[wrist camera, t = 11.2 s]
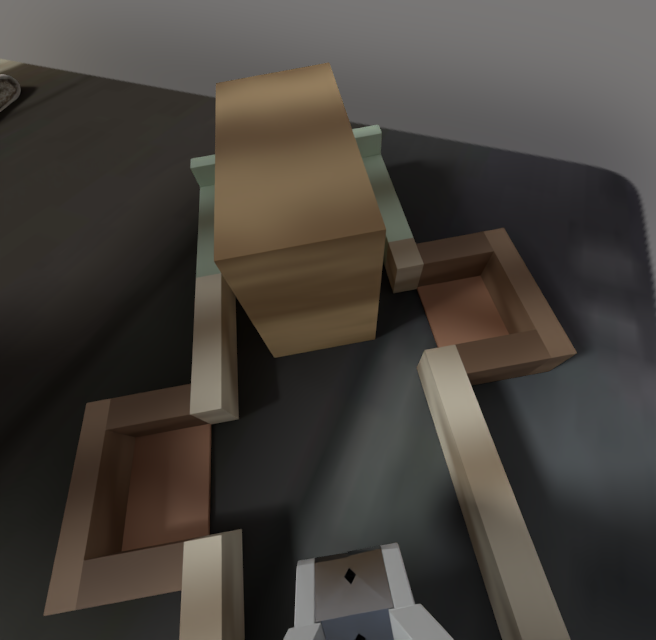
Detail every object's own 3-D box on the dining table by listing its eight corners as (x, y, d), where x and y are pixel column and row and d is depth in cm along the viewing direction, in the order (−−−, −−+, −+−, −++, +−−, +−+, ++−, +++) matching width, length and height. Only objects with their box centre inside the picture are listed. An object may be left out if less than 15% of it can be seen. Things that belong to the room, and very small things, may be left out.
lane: (687, 635, 12) (761, 667, 10) (69, 752, 12) (3, 810, 10) (444, 171, 25) (452, 141, 23) (148, 226, 25) (127, 200, 23)
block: (375, 339, 19) (386, 229, 11) (274, 358, 19) (213, 261, 11) (338, 200, 25) (329, 62, 17) (261, 214, 25) (216, 83, 17)
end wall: (378, 183, 25) (381, 133, 21) (213, 214, 25) (190, 168, 21) (375, 175, 25) (378, 124, 22) (214, 205, 25) (190, 158, 22)
